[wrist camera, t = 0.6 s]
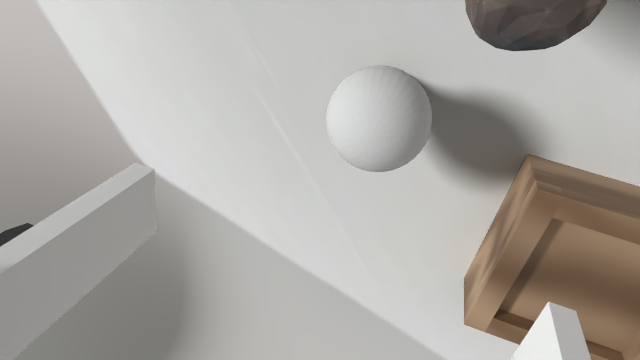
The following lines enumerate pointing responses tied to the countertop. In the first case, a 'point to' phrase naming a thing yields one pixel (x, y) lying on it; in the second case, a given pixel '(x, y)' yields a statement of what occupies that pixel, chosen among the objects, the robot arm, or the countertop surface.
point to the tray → (561, 259)
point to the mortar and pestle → (530, 21)
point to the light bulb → (379, 118)
